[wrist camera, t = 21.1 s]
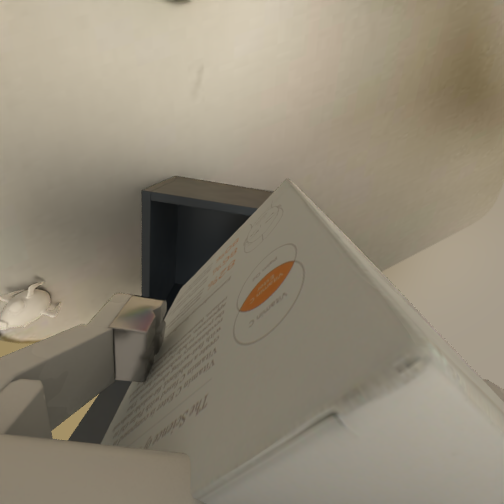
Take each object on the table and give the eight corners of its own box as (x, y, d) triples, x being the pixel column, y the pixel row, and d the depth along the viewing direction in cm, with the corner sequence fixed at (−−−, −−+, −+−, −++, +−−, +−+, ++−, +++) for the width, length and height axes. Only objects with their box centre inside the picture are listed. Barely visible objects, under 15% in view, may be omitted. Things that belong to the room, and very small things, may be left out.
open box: (175, 175, 33) (141, 189, 23) (282, 193, 33) (295, 214, 23) (170, 284, 38) (141, 333, 28) (261, 296, 39) (264, 349, 29)
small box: (254, 343, 15) (250, 690, 6) (178, 286, 14) (-1, 624, 4) (366, 254, 13) (685, 592, 3) (288, 173, 11) (454, 359, 2)
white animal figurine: (47, 274, 38) (-2, 305, 31) (69, 304, 40) (28, 340, 32) (16, 285, 39) (-39, 319, 31) (39, 314, 40) (-7, 352, 33)
